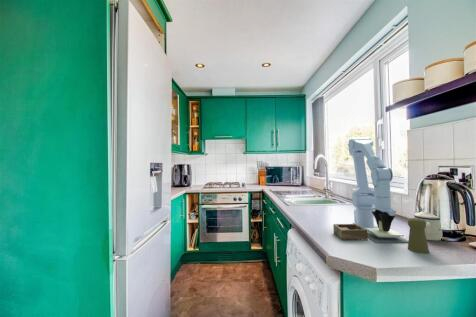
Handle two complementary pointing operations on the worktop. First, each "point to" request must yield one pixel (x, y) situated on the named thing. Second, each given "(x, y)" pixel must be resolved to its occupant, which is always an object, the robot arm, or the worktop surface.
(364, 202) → the robot arm
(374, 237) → the slate mat
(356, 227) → the box
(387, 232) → the lid
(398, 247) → the worktop surface
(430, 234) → the teacup with lid
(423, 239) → the olive pepper mill
